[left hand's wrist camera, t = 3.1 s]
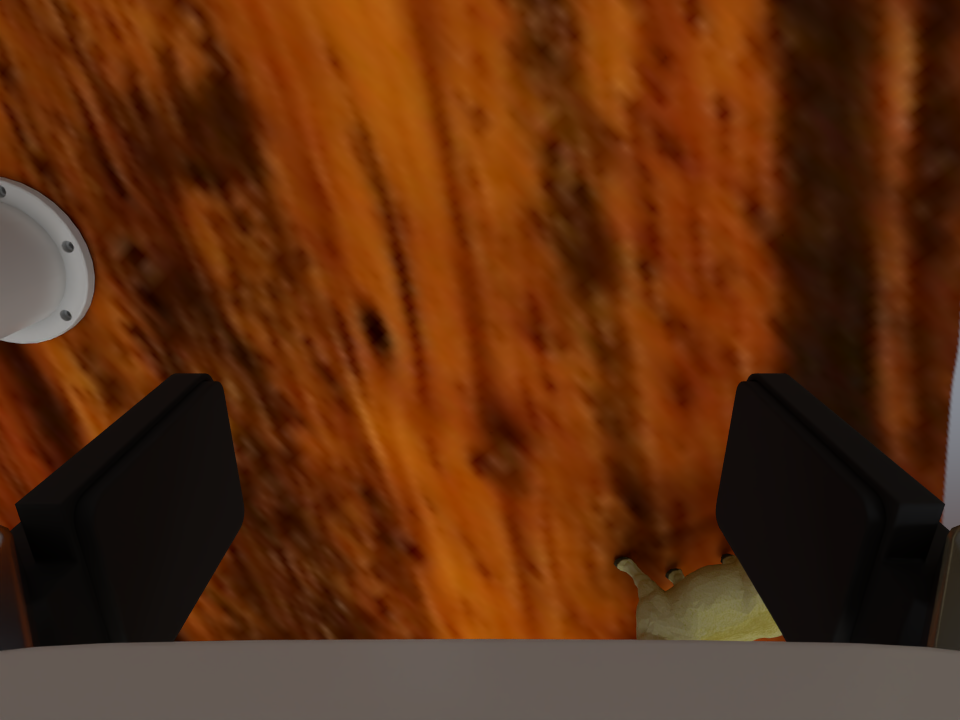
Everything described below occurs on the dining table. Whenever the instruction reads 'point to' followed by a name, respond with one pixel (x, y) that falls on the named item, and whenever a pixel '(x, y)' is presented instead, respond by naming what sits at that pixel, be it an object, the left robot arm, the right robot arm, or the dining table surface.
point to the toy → (701, 604)
